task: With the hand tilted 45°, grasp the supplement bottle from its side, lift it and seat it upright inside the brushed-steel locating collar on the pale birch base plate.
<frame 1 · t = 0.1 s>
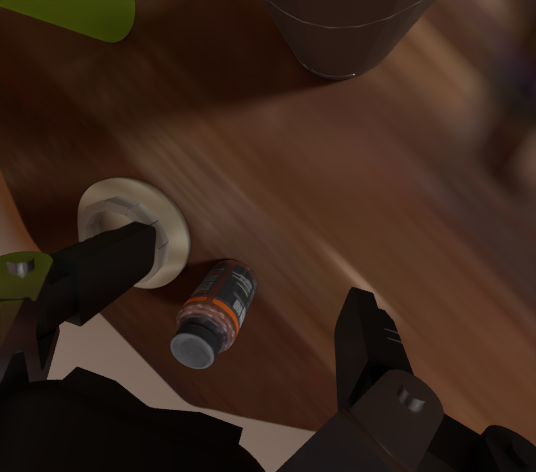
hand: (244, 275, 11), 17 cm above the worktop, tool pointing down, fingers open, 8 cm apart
collar plate: (138, 233, 33), on the worktop
soap dispenser: (102, 3, 24), on the worktop
supplement bottle: (235, 278, 33), on the worktop
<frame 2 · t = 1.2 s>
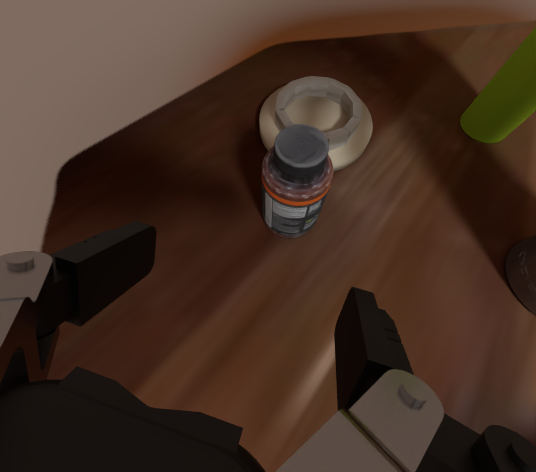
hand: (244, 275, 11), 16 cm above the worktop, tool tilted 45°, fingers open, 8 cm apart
collar plate: (313, 128, 34), on the worktop
soap dispenser: (480, 124, 35), on the worktop
supplement bottle: (289, 216, 30), on the worktop
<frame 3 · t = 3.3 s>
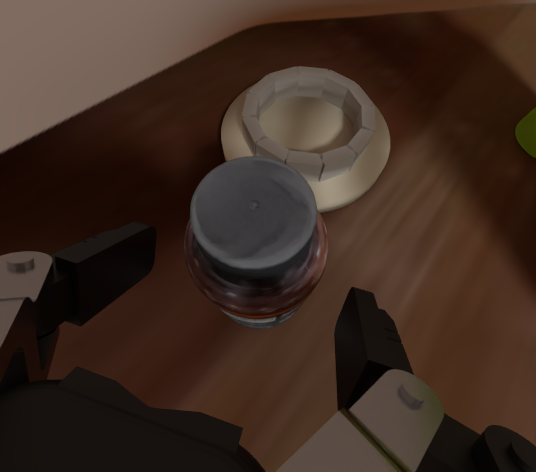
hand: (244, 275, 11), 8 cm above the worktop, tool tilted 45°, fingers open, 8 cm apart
collar plate: (303, 143, 24), on the worktop
supplement bottle: (260, 286, 19), on the worktop
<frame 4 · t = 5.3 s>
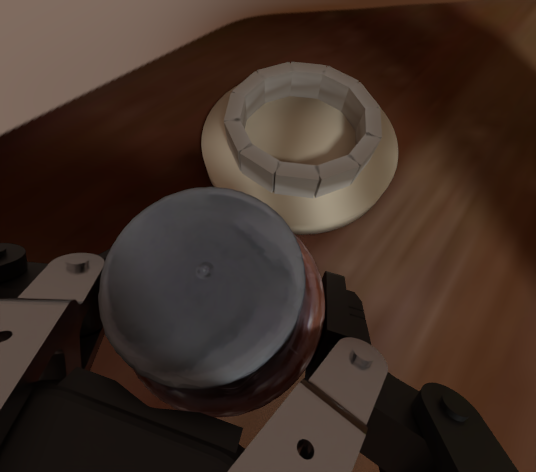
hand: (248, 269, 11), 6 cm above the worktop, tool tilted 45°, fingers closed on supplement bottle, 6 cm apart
collar plate: (297, 151, 20), on the worktop
supplement bottle: (244, 323, 16), on the worktop, touching gripper
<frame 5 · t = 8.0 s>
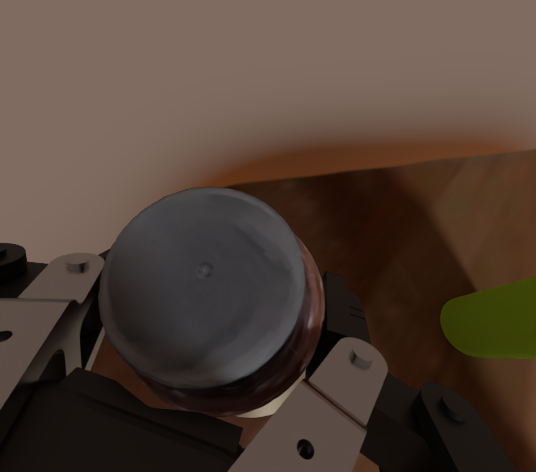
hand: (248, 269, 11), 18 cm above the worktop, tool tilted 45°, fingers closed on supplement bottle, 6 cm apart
collar plate: (252, 332, 27), on the worktop
soap dispenser: (465, 320, 28), on the worktop
supplement bottle: (244, 323, 16), point 12 cm above the worktop, touching gripper
when the fingers open (8 cm above the worktop, at t = 11.2 s): supplement bottle stays where it is, resting on collar plate.
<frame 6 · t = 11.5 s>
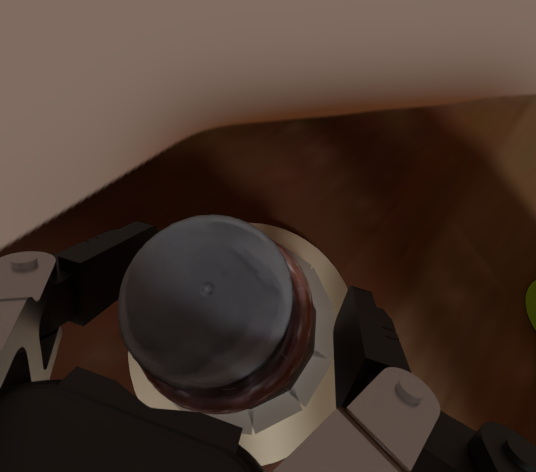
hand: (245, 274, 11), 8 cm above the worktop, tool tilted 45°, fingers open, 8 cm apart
collar plate: (246, 326, 18), on the worktop
supplement bottle: (242, 328, 17), point 1 cm above the worktop, touching collar plate
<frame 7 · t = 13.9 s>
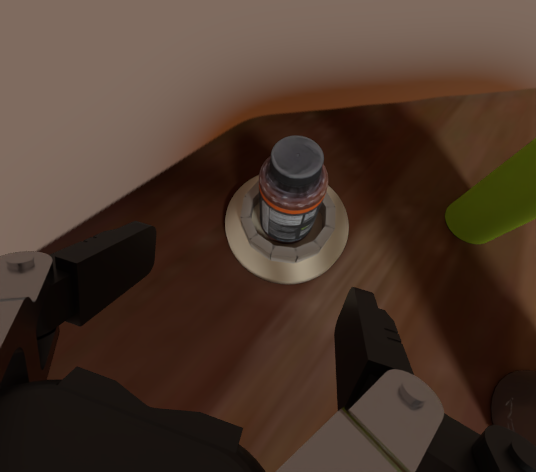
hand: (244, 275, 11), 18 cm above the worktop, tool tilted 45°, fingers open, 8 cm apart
collar plate: (285, 226, 32), on the worktop
soap dispenser: (466, 218, 33), on the worktop
supplement bottle: (285, 222, 30), point 1 cm above the worktop, touching collar plate
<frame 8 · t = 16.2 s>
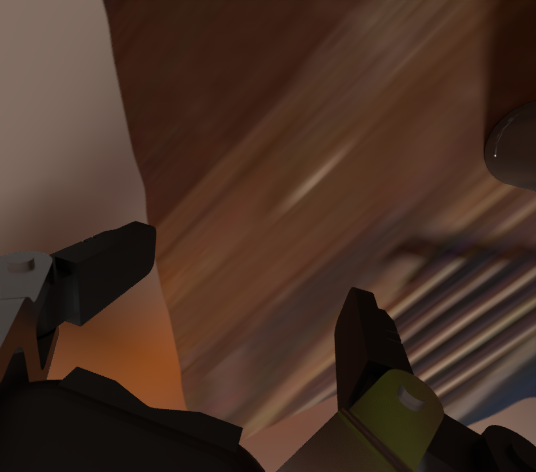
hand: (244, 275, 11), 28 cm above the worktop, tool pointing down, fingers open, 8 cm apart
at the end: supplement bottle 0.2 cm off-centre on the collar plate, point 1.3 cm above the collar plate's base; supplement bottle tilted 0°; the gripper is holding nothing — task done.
